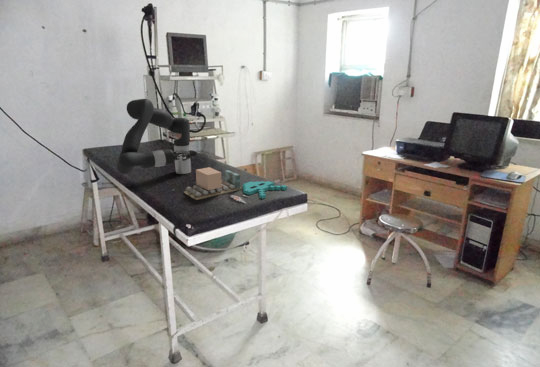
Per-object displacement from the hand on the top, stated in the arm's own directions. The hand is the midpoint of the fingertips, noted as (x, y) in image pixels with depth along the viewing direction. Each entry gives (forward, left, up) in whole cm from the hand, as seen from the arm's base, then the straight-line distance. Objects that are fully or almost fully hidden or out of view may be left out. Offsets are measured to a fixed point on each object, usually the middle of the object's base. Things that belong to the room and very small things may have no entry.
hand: (195, 152), depth 182 cm
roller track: (0, +10, -22) cm, 24 cm away
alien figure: (+13, +31, -23) cm, 41 cm away
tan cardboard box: (0, +7, -18) cm, 20 cm away
